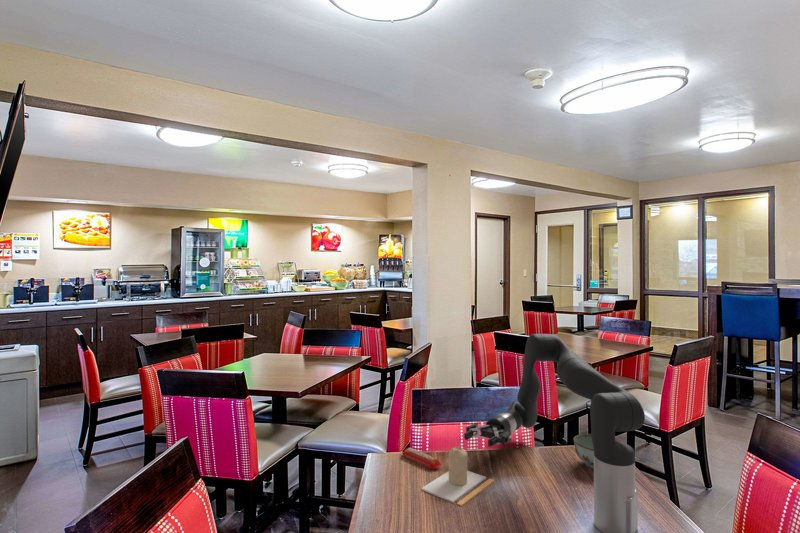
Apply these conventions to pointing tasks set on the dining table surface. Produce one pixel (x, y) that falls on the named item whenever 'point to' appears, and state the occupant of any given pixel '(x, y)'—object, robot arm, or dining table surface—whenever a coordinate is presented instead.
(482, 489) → the wooden stick
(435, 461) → the candy bar
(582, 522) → the dining table surface
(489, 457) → the dining table surface
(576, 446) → the bowl
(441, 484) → the mat
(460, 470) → the candle
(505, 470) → the dining table surface
